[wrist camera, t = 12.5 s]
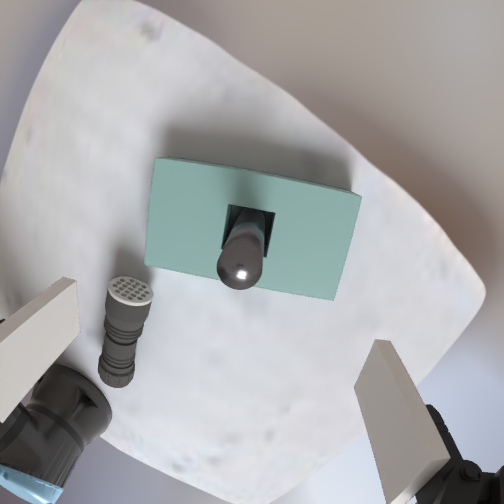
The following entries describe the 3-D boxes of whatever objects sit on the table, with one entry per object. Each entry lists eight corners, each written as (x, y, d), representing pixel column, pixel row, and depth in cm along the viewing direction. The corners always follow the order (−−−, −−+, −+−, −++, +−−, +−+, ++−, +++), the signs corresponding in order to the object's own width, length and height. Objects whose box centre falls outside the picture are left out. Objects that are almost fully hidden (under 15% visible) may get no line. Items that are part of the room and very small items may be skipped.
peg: (235, 233, 34) (213, 285, 21) (239, 206, 34) (219, 242, 20) (262, 238, 34) (257, 293, 21) (267, 211, 34) (266, 251, 20)
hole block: (156, 252, 36) (144, 264, 32) (167, 156, 32) (155, 157, 28) (327, 285, 36) (333, 300, 32) (351, 191, 32) (362, 196, 29)
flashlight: (137, 374, 42) (125, 397, 37) (105, 359, 42) (90, 381, 36) (159, 288, 37) (143, 308, 32) (120, 271, 37) (100, 289, 32)
